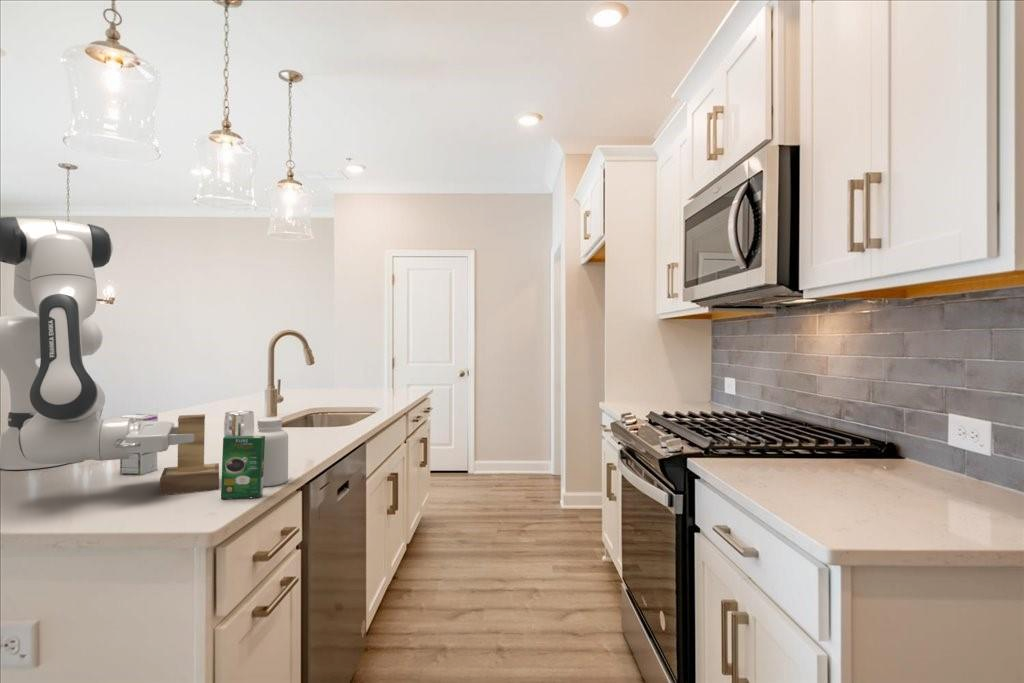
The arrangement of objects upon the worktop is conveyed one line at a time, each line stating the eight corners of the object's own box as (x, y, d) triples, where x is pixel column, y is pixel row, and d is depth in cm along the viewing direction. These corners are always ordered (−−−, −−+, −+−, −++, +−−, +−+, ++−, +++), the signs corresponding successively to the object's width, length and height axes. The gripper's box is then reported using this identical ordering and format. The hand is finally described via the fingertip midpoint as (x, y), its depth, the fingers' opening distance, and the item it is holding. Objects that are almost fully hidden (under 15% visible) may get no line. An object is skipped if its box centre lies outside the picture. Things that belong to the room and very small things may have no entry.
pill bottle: (252, 480, 127) (253, 417, 127) (288, 477, 129) (289, 416, 129) (248, 488, 119) (249, 422, 119) (287, 485, 122) (288, 421, 122)
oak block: (178, 468, 121) (179, 415, 121) (204, 465, 123) (205, 414, 123) (177, 472, 117) (178, 418, 117) (203, 470, 119) (204, 416, 119)
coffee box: (265, 494, 115) (265, 434, 115) (261, 498, 112) (262, 436, 112) (224, 496, 113) (225, 435, 113) (220, 500, 110) (221, 437, 110)
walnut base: (164, 484, 122) (164, 467, 122) (218, 478, 127) (218, 462, 127) (160, 495, 113) (160, 476, 113) (218, 489, 118) (219, 471, 118)
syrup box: (158, 469, 135) (159, 413, 135) (139, 475, 129) (140, 416, 129) (137, 469, 136) (138, 412, 136) (118, 474, 130) (119, 415, 130)
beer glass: (259, 469, 136) (260, 412, 136) (232, 475, 131) (233, 414, 131) (243, 466, 140) (244, 409, 140) (217, 471, 134) (218, 412, 134)
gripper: (112, 431, 105) (193, 426, 111) (127, 417, 122) (196, 414, 129) (111, 463, 105) (193, 456, 111) (127, 444, 122) (196, 440, 129)
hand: (195, 433), depth 120 cm, fingers open, 8 cm apart
